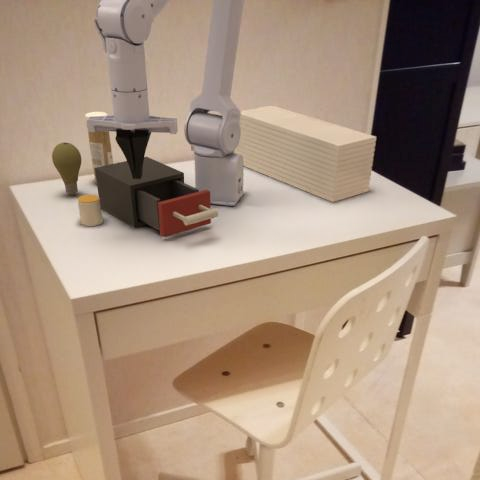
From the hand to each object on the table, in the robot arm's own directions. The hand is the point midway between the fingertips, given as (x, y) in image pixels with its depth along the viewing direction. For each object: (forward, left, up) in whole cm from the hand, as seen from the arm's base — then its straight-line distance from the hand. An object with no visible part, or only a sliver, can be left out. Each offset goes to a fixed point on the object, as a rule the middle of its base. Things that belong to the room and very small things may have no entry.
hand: (137, 177), depth 104 cm
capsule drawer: (-6, -2, -8) cm, 11 cm away
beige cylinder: (+10, -1, -9) cm, 14 cm away
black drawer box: (+4, -9, -9) cm, 13 cm away
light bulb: (+21, -13, -10) cm, 26 cm away
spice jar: (+18, -22, -10) cm, 30 cm away
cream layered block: (-22, -38, -10) cm, 45 cm away
